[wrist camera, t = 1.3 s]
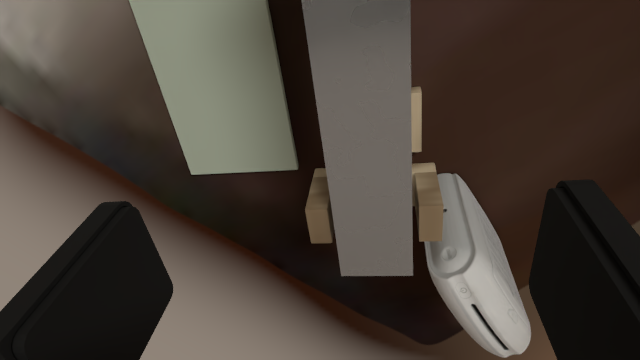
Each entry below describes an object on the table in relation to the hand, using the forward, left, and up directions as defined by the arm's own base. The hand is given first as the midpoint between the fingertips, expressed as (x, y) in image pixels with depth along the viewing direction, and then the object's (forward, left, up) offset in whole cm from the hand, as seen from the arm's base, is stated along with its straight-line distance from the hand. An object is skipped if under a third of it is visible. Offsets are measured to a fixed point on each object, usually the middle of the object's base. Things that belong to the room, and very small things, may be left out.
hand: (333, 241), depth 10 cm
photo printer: (-7, +18, -23) cm, 30 cm away
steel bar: (0, 0, -13) cm, 13 cm away
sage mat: (+12, 0, -23) cm, 26 cm away
